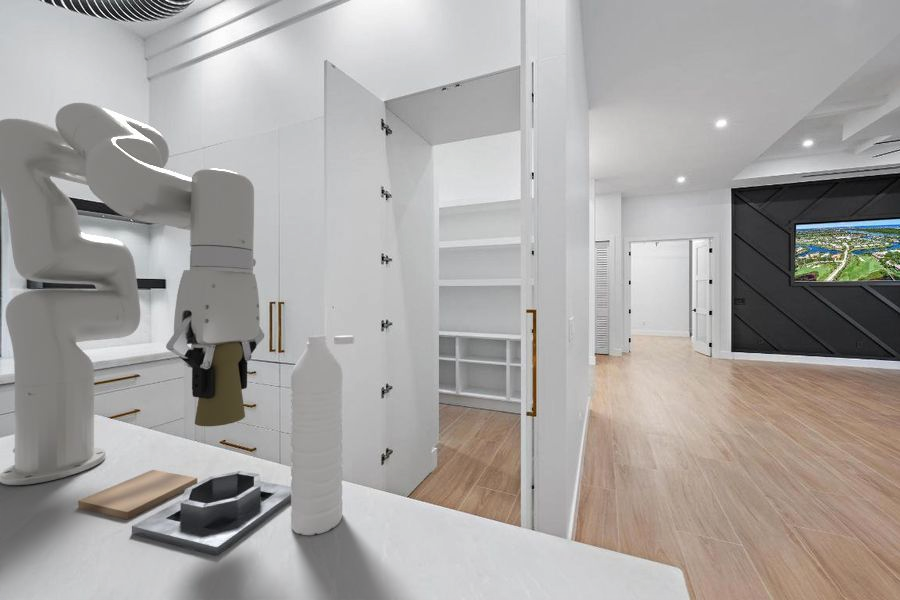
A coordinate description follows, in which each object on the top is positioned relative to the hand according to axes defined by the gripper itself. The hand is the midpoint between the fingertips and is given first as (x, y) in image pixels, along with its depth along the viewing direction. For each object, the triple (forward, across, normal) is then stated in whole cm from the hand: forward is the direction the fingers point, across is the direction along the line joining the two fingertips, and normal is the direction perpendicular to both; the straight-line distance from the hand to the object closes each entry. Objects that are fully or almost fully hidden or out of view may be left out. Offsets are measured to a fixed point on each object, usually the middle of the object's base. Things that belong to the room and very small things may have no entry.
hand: (220, 391), depth 51 cm
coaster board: (+17, 0, -15) cm, 23 cm away
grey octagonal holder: (+17, 0, +1) cm, 17 cm away
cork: (+4, 0, 0) cm, 4 cm away
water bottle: (+17, -2, +16) cm, 23 cm away
